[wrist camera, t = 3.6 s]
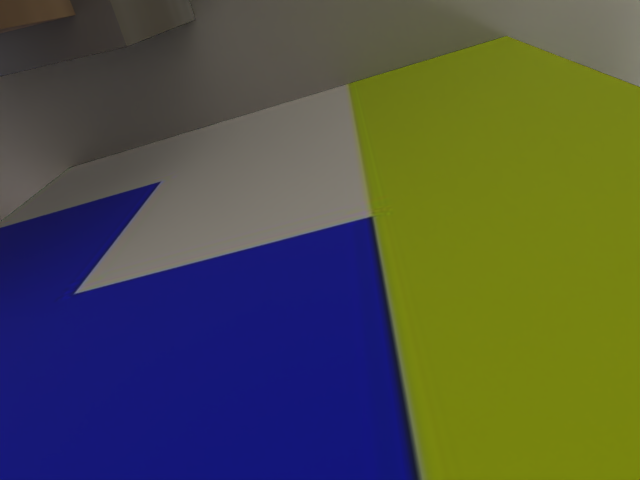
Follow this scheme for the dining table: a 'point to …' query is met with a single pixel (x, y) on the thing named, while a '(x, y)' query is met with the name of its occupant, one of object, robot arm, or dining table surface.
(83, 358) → the puzzle toy
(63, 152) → the dining table surface
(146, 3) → the plinth
